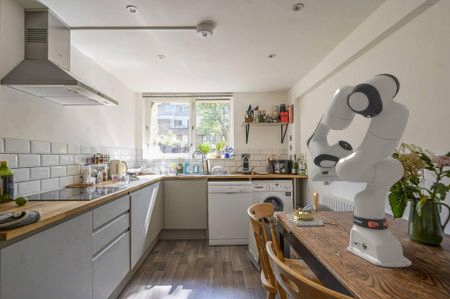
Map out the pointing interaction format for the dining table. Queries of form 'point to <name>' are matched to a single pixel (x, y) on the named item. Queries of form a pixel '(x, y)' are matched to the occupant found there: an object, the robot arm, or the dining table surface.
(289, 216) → the cap plate
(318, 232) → the dining table surface
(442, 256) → the dining table surface
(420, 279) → the dining table surface
